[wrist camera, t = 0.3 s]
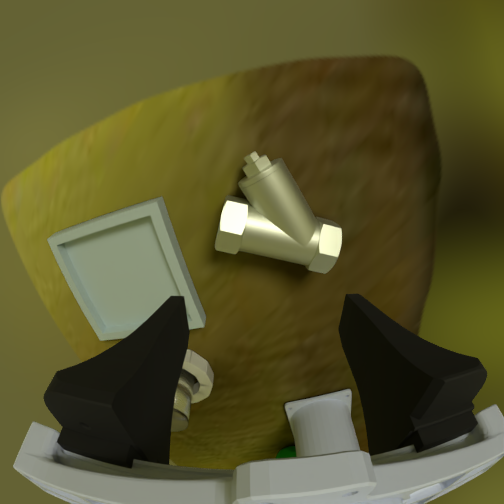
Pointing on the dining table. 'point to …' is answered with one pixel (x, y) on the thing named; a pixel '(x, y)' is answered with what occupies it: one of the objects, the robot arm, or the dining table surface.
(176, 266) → the tray
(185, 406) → the metal cylinder
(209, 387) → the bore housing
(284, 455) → the polyhedron
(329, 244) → the pipe fitting
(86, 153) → the dining table surface
